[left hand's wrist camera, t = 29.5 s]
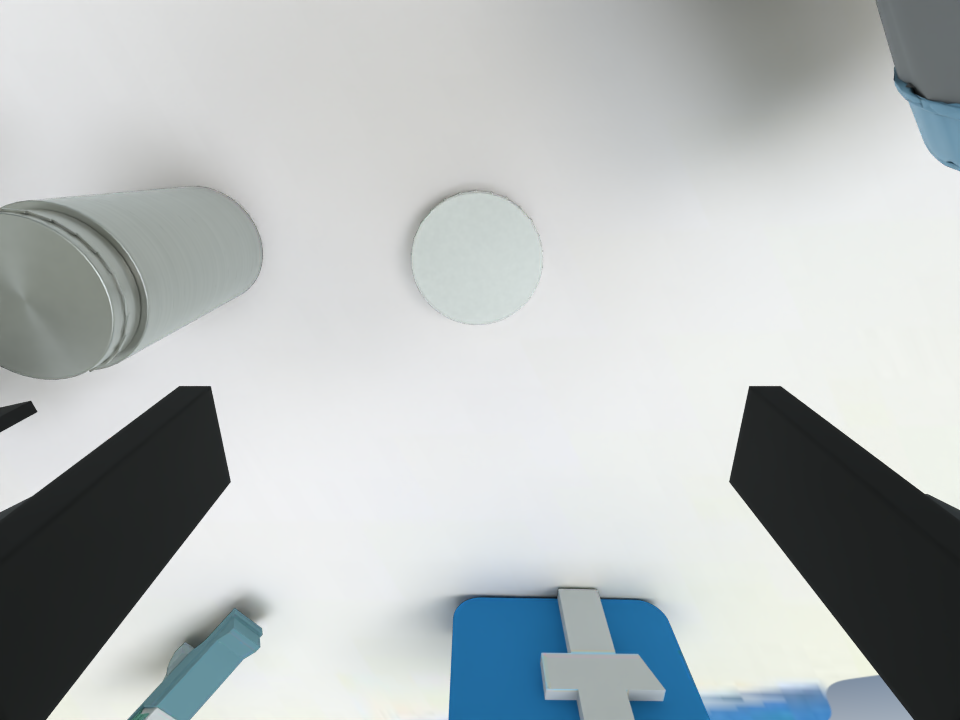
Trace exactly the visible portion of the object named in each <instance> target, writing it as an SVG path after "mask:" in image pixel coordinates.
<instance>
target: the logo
mask: <svg viewBox="0 0 960 720" xmlns="http://www.w3.org/2000/svg"><path fill="white" fill-rule="evenodd" d="M449 720H710V718H709V716H708V714H707V711H706V709H705V707H704V704H703V702H702V699H701V697H700V695H699V692H698V690H697V688H696V685H695V683H694V680H693V678H692V676H691V673H690V671H689V668H688V666H687V664H686V661H685V659H684V657H683V654H682V652H681V649H680V647H679V645H678V642H677V640H676V637H675V635H674V633H673V630H672V628H671V626H670V623H669V621H668V619H667V617H666V616H665V615H664V613H663V612H662V611H661V610H659V609H658V608H657V607H655V606H654V605H652V604H650V603H648V602H645V601H641V600H618V599H600V597H599V593H598V590H597V589H558V598H557V599H550V598H481V597H480V598H472V599H469V600H466V601H464V602H463V603H462V604H460V605H459V606H458V608H457V609H456V611H455V613H454V617H453V636H452V657H451V679H450V700H449Z"/></svg>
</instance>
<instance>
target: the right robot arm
mask: <svg viewBox="0 0 960 720" xmlns="http://www.w3.org/2000/svg"><path fill="white" fill-rule="evenodd" d="M36 412H37V410H36V409H35V407H34V405H33V403H32V402H31V401H28V402H23V403H19V404H14V405H10V406H5V407H1V408H0V432H2V431H3V430H5V429H7V428H9V427H11V426H13V425H14V424H16V423H18V422H20V421H22V420H23V419H25V418H27V417H29V416H31V415H33V414H34V413H36Z"/></svg>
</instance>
